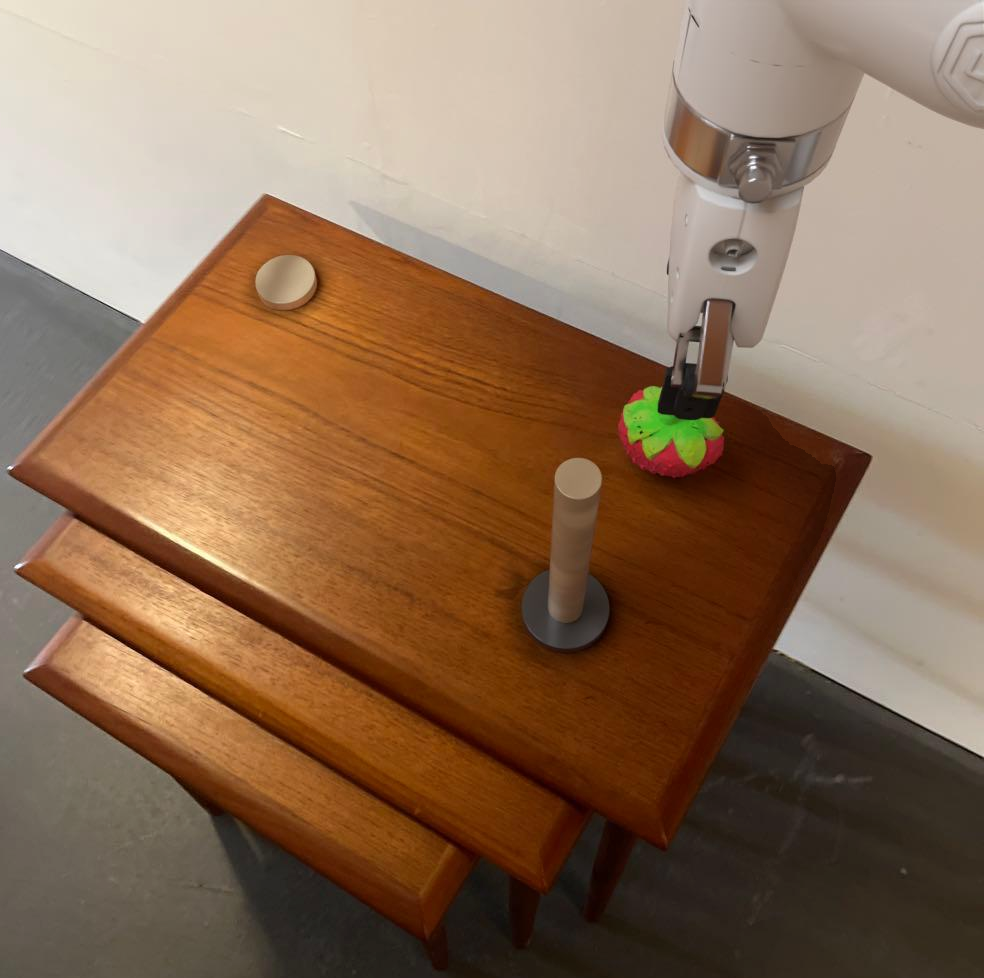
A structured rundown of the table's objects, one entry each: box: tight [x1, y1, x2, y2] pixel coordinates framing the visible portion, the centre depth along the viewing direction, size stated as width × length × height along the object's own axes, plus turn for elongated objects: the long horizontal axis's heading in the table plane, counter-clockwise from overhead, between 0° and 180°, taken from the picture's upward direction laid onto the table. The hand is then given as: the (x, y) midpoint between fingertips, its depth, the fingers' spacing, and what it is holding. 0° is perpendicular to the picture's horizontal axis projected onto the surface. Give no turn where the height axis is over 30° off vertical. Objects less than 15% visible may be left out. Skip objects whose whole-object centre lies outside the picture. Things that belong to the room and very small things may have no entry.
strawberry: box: [617, 385, 726, 479], centre depth 67 cm, size 6×7×10 cm
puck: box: [254, 254, 318, 312], centre depth 81 cm, size 5×5×1 cm
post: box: [521, 457, 611, 654], centre depth 58 cm, size 6×6×20 cm
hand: (689, 341), depth 57 cm, fingers open, 9 cm apart
